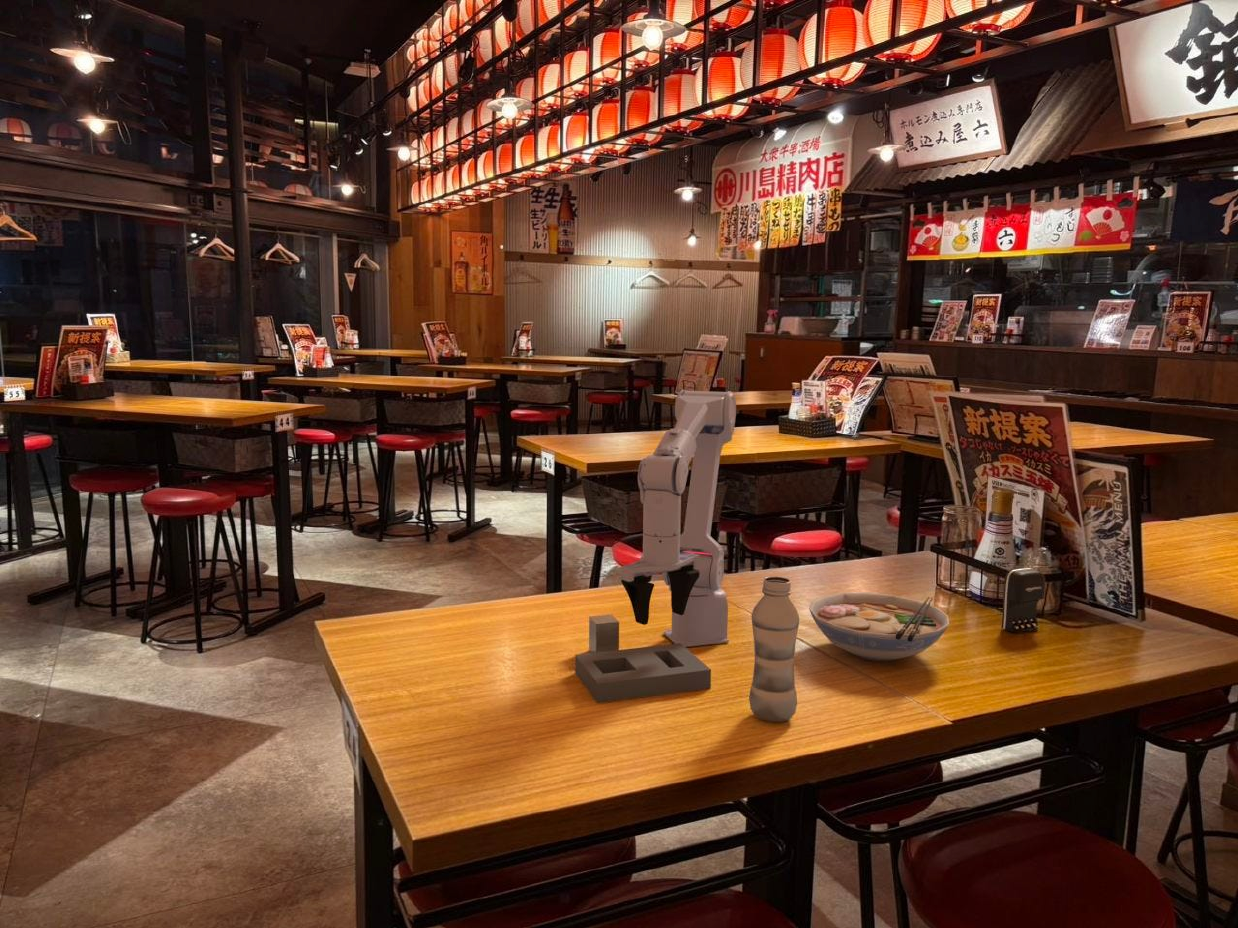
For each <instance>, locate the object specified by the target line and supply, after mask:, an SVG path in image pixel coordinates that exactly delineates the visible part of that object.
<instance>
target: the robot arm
mask: <svg viewBox="0 0 1238 928" xmlns="http://www.w3.org/2000/svg"><path fill="white" fill-rule="evenodd" d="M675 398H676V399H675V402H674V403H675V404H674V413H675V420H676V424H675V425H674V427H673V428H670V429H669V430H667V431H666V432H665V433H664V434H663V436H662V438H661V439H660V441H659V443H658V444H657V446H656V448H655V450H654V451H653V453H652V455H651V454H648V455H647V456H646V457H643V458H642V459H641V460H640V462H639V466H638V473H637V485H638V488H639V493H640V497H639V498H640V503H641V504H642V506H643V510H642V513H643V514H642V515H643V518H642V519H643V521H642V555H641V556H640V559H639V560H636V561H634V562H632V563H629V564H627V565H624V566H620V579H621V580H620V581H621V582H620V583H621V584H622V586H623V588H624V589H625V592H626V594H627V595H628V598H629V601H630V603H631V607H632V610H633V611H632V612H633V615H634V619H635V622H636V623H638V624H641V625H644V626H645V625H648V623H649V617H650V602H651V596H652V593H653V590H654V587H655V584H654V583H653V582H649V581H648V579H646V577H652V576H654V575H655V576H656V575H659V574H661V575H662V580H663V582H664V583H665V585H666V586H668V587H669V589H668V590H669V592H670V595H671V596H670V598H671V599H670V603H671V629H666V630H663V631H662V632H663V634H664V635H665V637H667V638H668V639H669V640H670V641H671V642H673V644H677V643H681V644H682V645H683V646H684V647H685V648H690V647H699V646H707V645H715V644H724V643H725V644H726V643H729V642H730V639H729V637H728V625H729V624H728V621H729V619H728V618H729V603H728V599H727V595H726V592H725V591H724V590H723V589H722V588H721V586H722V584H723V580H724V573H725V564H724V563H725V562H724V560H725V559H724V557H725V552H724V549H723V547H722V546H721V545H720V543H718V542H717V541H716V540H715V539H714V538H713V537H712V536H711V532H712V526H713V525H712V524H713V517H714V509H715V507H714V506H715V500H716V492H717V491H716V490H717V485H718V477H719V468H720V460H721V454H722V450H723V446H725V445H726V444H728V443H729V442H732V440H733V435H734V432H735V424H736V417H737V402H736V397H735V395H734V393H733V392H732V391H730V390H729V391H708V390H707V391H704V390H701V391H700V390H686V389H681V390H680V391H679V393H678V394H677V396H676V397H675ZM691 461H692V465H691V472H690V479H689V480H690V481H689V486H688V487H689V490H688V496H687V505H686V509H685V518H684V526H683V532H682V533H681V515H682V514H681V512H682V508H681V505H682V494H683V493H684V491H685V488H686V484H687V480H688V475H689V465H690V463H691Z"/></svg>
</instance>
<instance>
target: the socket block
mask: <svg viewBox="0 0 1238 928" xmlns="http://www.w3.org/2000/svg"><path fill="white" fill-rule="evenodd" d="M574 660H575V661H574V662H575V663H574V664H575V665H574V674H575V675H576V676H577V677H578V679H579V680H580V682H581V683H582V684H583V686H585V689H586V690H587V691H588V692H589V694H590V695H591V697H592V698H593V699H594V700H595V702H596V703H597V704H602V703H603V704H604V703H611V702H618V701H625V700H633V699H639V698H642V699H643V698H648V697H656V696H662V695H664V696H665V695H670V694H679V693H687V692H693V691H702V690H708V689H711V687H712V686H711V685H712V681H711V680H712V669H711V668H710V667H709V666H708V665H706V664H705V663H704V662H703V661H702V660H701V659H700V658H698V657H697V656H696V655H695V654H693V653H692V651H690V650H689V649H688V647H684V646H683V645H682V644H681V643H677V644H675V643H671V644H670V643H669V644H661V645H653V646H644V647H643V646H642V647H635V648H627V649H625V648H624V649H619V650H615V651H606V652H597V653H591V652H590V653H581V654H580V653H579V654H574Z"/></svg>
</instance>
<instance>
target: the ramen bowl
mask: <svg viewBox="0 0 1238 928" xmlns="http://www.w3.org/2000/svg"><path fill="white" fill-rule="evenodd" d="M933 599H934V598H933V597H931V599H930V596H929V597H927V599H926V600H925V601H924V602H923V601H920V600H917V599H913V598H908V597H902V596H898V595H892V594H883V593H871V592H841V593H836V594H831V595H824V596H822V597H819V598H817V599H815V600H813V601H811V603H810V605H809V608H808V610H809V612H810V614H811V615H810V616H811V617H812V619H813V620H814V622H815V623H816V626H817V627H818V628H819V630H820V631H821V632H822V633H823V635H824V636H825V637H826V638H827V639H828V641H829V642H831V643H832V644H833V645H835V646H836V647H838V648H840V649H842V650H844V651H846V652H848V653H851V654H853V655H855V656H857V657H859V658H861V659H863V660H867V661H873V662H874V661H875V662H891V661H895V660H898V659H903V658H909V657H914V656H916V655H919V654H920V653H922V652H924V651H926V650H927V649H929V648H931V647H932V646H933V645H934V644H935V643H936V642H937V641H938V640H939V639H940V638H941V637H942V636H943V634H945V632H946V631H947V628H948V627H949V625H950V619H949V615H948V614H947V613H945V612H944V611H942V610H941V609H940V608H938V607H936V606H933V605H931V602H932V601H933ZM928 601H929V602H928ZM927 602H928V603H927Z"/></svg>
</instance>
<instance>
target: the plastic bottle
mask: <svg viewBox="0 0 1238 928" xmlns="http://www.w3.org/2000/svg"><path fill="white" fill-rule="evenodd" d="M791 584H792V583H791V579H789V578H788V577H783V576H766V577H764V578H763V581H762V585H763V586H762V589H761V590H762V591H761V593H763V596H762V597H761V598H760V599H759V601H758V602H757V603H756V605H755V606H754V607H753V609H752V612H751V626H752V634H753V641H754V642H753V644H754V645H753V647H754V649H753V651H754V663H753V664H754V665H753V674H752V682H751V686H750V690H749V697H748V700H749V707H750V711H751V712H752V713H753V714H754V716H755V717H756V718H758V719H760V720H763V721H765V722H770V723H782V722H787V721H789V720H791V719H792V718H793V716H794V715H795V714H796V710H797V705H798V697H797V690H796V686H795V684H796V683H795V682H796V681H795V668H794V667H795V666H794V663H795V657H794V656H795V650H796V642H797V637H798V630H799V625H800V616H799V612H798V610H797V608H796V606H795V605H794V603H793V602H792V600H791V598H790V597H789V596H791V594H792V590H791V588H792V587H791V586H792V585H791Z"/></svg>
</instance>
